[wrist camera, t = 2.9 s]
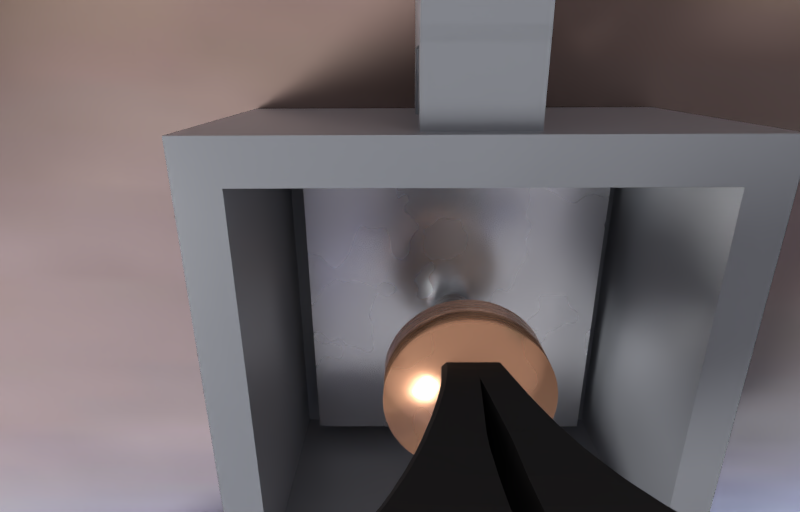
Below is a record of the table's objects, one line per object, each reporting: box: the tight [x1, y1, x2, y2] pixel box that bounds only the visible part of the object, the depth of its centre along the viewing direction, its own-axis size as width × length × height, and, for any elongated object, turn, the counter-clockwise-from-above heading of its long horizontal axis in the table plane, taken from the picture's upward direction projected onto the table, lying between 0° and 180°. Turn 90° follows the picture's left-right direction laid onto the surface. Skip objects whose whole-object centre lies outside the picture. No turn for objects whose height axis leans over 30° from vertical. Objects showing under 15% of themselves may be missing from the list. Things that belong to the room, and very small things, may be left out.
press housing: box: [162, 0, 800, 512], centre depth 14 cm, size 15×12×6 cm
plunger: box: [303, 188, 610, 455], centre depth 14 cm, size 9×9×5 cm
